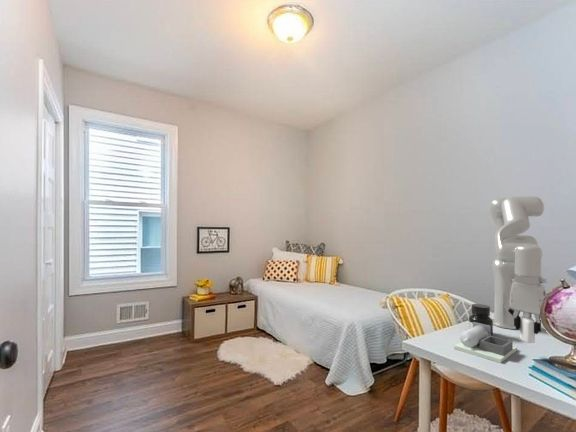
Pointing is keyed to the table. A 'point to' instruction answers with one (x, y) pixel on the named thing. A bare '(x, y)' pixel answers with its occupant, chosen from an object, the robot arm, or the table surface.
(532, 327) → the eye dropper bottle
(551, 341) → the table surface
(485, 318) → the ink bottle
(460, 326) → the table surface
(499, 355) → the motor mount
